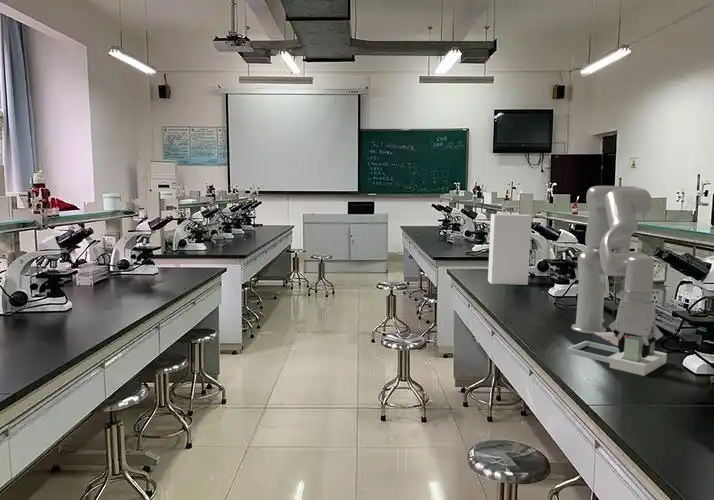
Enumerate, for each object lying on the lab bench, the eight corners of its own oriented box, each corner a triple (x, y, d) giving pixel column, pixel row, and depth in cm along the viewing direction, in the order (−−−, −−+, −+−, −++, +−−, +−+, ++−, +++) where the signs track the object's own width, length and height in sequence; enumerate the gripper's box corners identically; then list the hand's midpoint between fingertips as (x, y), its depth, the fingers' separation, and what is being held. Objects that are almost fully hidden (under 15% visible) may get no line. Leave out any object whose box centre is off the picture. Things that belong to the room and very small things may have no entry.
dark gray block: (640, 358, 181) (642, 330, 180) (653, 361, 178) (655, 332, 177) (635, 361, 178) (637, 332, 177) (648, 364, 175) (651, 335, 174)
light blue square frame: (585, 347, 196) (585, 340, 196) (626, 357, 186) (626, 349, 186) (566, 355, 186) (566, 348, 186) (608, 365, 176) (609, 358, 176)
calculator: (617, 344, 189) (591, 330, 203) (615, 356, 190) (590, 342, 204) (646, 343, 191) (619, 330, 205) (644, 355, 191) (618, 341, 206)
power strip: (633, 358, 185) (634, 344, 184) (665, 365, 178) (667, 351, 177) (609, 370, 172) (610, 355, 171) (643, 379, 165) (644, 363, 164)
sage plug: (627, 365, 174) (629, 335, 173) (641, 368, 171) (643, 338, 170) (622, 368, 171) (625, 337, 170) (636, 371, 168) (639, 340, 167)
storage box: (523, 281, 331) (526, 214, 327) (527, 284, 321) (531, 215, 316) (487, 280, 332) (490, 213, 327) (491, 284, 322) (494, 214, 317)
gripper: (603, 293, 172) (599, 350, 174) (664, 303, 160) (659, 363, 162) (613, 290, 177) (609, 345, 179) (673, 299, 165) (668, 358, 167)
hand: (633, 353), depth 171 cm, fingers open, 6 cm apart
